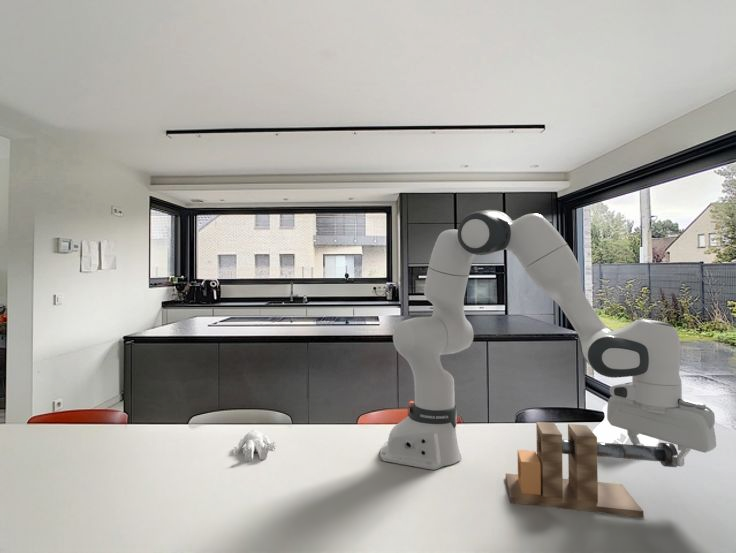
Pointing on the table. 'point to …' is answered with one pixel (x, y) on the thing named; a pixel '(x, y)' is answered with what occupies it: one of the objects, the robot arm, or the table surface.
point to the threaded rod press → (572, 476)
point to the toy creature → (255, 445)
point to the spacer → (529, 472)
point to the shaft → (630, 451)
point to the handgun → (618, 433)
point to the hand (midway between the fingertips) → (657, 458)
